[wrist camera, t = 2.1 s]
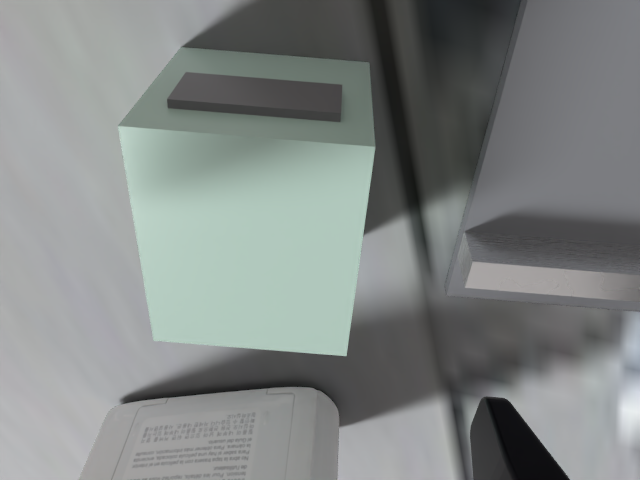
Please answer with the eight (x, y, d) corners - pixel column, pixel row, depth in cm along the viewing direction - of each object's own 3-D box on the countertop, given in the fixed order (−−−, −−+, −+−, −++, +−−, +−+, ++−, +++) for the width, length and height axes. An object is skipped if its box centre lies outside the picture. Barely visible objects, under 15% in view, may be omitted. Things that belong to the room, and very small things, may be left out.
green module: (370, 53, 15) (376, 137, 11) (347, 240, 18) (346, 356, 14) (181, 37, 15) (116, 116, 11) (197, 228, 18) (153, 341, 14)
